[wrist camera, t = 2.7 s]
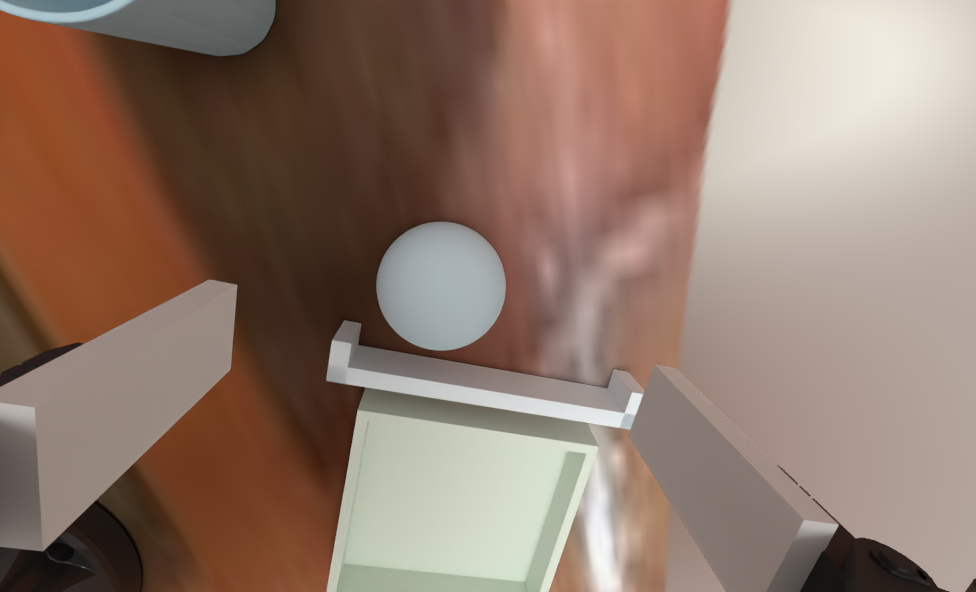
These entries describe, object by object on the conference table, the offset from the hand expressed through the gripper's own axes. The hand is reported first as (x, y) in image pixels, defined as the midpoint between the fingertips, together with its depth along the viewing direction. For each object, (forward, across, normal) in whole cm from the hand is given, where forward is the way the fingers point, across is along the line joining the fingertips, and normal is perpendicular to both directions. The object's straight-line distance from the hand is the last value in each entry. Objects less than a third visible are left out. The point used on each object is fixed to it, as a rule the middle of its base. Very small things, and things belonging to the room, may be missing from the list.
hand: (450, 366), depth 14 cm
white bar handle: (+12, +4, -6) cm, 14 cm away
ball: (+12, 0, 0) cm, 13 cm away
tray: (+12, +4, -15) cm, 20 cm away
